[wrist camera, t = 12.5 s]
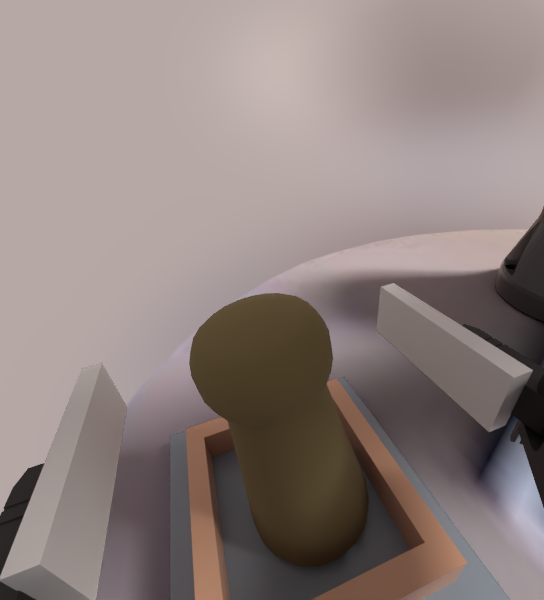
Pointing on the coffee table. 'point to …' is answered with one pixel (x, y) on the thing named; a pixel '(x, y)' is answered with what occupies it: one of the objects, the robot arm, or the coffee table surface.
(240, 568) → the pallet plate
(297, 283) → the coffee table surface
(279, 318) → the cork
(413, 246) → the coffee table surface
